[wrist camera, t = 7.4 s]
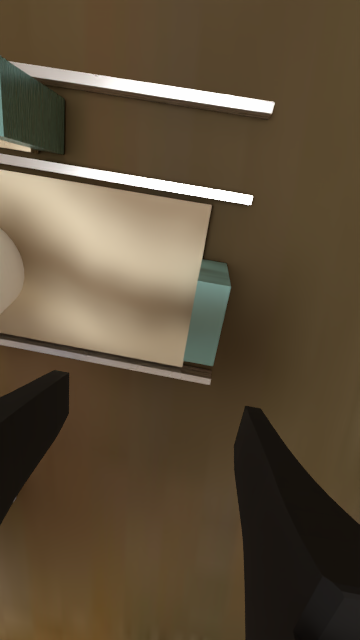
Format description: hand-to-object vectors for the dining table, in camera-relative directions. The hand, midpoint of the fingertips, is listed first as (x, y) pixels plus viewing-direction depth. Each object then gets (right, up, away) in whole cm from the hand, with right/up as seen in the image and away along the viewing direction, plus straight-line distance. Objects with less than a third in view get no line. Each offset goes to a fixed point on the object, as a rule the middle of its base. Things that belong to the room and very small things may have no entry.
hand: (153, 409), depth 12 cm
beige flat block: (-7, +7, +9) cm, 13 cm away
